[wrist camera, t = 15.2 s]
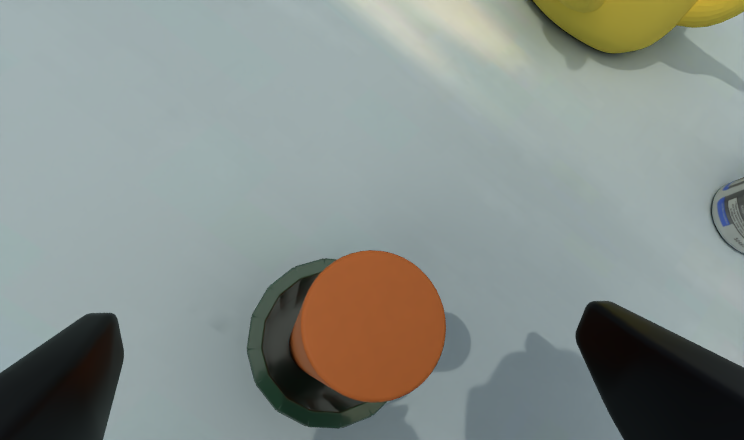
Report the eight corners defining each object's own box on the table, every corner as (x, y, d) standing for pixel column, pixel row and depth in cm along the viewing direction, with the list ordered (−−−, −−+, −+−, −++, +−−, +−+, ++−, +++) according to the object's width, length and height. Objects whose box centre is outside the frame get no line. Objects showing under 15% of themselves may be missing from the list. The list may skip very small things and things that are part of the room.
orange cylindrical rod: (362, 357, 20) (473, 356, 9) (305, 387, 19) (341, 433, 8) (335, 300, 21) (405, 227, 9) (279, 328, 20) (274, 287, 8)
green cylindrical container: (345, 432, 20) (367, 459, 15) (232, 373, 20) (214, 378, 14) (398, 317, 22) (435, 304, 16) (295, 262, 21) (300, 231, 16)
